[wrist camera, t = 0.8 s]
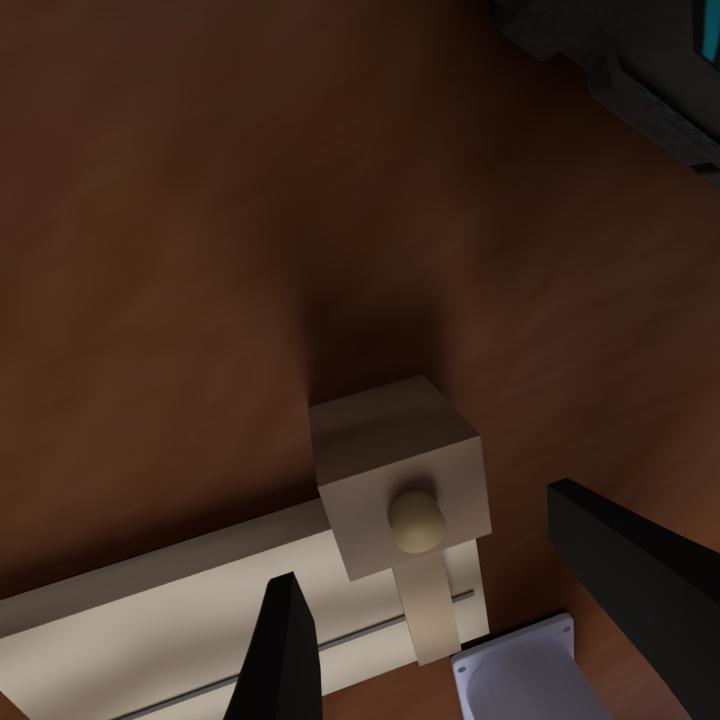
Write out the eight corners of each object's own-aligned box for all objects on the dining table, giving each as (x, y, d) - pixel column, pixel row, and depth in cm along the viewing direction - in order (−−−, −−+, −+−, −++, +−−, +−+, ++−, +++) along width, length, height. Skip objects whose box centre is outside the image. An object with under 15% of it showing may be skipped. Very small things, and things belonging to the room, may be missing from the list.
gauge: (457, 568, 20) (520, 693, 15) (369, 599, 19) (401, 740, 14) (422, 373, 15) (494, 450, 10) (307, 407, 15) (319, 507, 10)
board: (471, 597, 21) (490, 635, 19) (113, 727, 19) (93, 784, 17) (448, 456, 17) (469, 485, 15) (-1, 600, 15) (-43, 655, 13)
